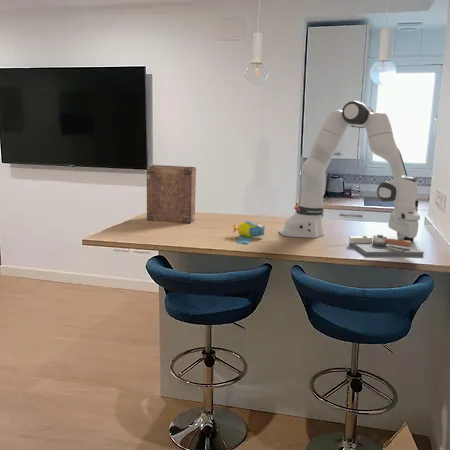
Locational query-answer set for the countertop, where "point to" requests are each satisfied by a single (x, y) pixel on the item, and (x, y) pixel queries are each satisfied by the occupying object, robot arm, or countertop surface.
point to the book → (171, 193)
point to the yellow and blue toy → (248, 231)
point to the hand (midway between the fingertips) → (400, 242)
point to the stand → (382, 248)
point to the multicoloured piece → (389, 241)
